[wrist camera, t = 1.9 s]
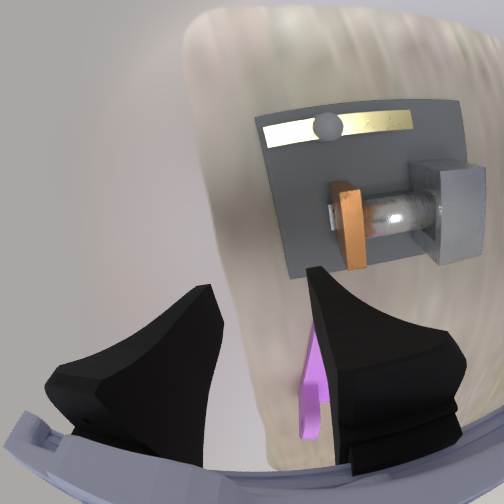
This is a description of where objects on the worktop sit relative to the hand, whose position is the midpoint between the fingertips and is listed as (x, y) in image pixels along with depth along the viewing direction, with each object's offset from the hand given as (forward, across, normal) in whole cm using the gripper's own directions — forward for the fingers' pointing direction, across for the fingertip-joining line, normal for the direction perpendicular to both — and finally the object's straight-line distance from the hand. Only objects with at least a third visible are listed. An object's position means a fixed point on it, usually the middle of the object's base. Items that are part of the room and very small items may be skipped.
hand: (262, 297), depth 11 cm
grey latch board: (+9, -9, -2) cm, 13 cm away
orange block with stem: (+8, -8, 0) cm, 11 cm away
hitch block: (+9, -10, 0) cm, 14 cm away
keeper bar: (+8, -6, -6) cm, 11 cm away
